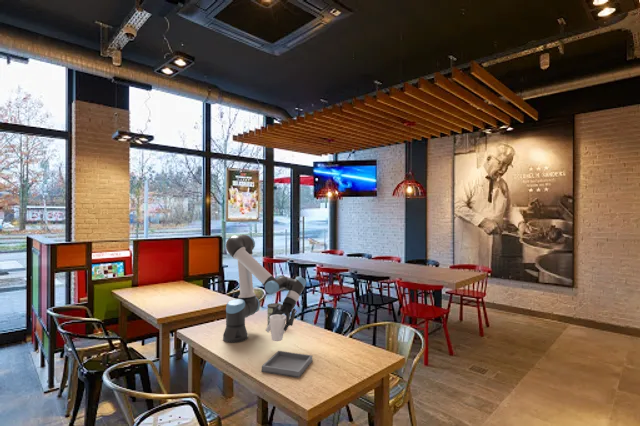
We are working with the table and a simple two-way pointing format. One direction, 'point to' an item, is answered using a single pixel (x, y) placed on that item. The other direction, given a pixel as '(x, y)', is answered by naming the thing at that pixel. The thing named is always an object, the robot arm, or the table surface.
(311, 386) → the table surface
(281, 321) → the foam cup
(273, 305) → the coffee can
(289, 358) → the tray
